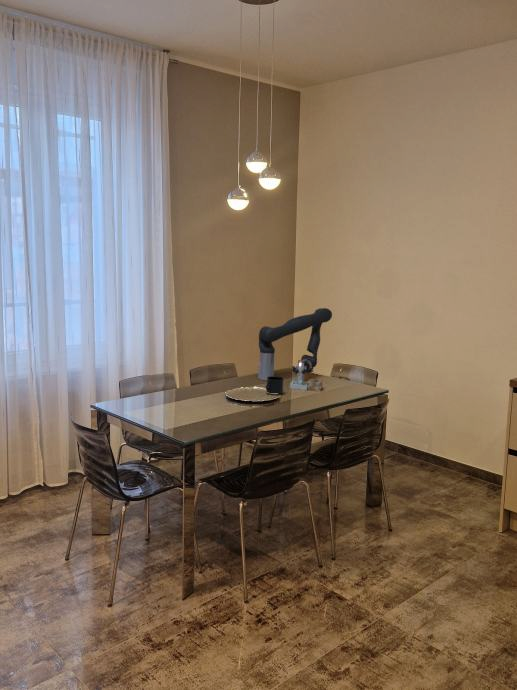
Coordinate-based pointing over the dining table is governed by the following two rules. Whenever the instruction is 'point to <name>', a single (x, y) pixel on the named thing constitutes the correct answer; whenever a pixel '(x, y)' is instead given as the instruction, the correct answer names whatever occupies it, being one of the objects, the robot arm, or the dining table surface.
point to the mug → (274, 384)
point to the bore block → (314, 384)
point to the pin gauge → (300, 372)
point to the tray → (295, 386)
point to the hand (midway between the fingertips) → (299, 372)
